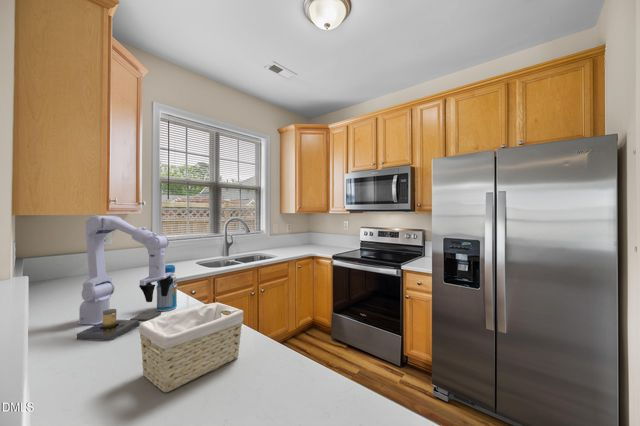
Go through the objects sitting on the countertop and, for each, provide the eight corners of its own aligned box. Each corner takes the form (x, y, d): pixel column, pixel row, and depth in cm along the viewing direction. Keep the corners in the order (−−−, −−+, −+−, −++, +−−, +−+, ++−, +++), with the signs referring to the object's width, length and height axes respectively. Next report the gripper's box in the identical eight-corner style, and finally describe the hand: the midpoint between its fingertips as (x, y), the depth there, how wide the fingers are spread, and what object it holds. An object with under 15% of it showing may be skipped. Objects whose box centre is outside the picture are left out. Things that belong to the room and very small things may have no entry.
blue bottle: (161, 313, 120) (161, 268, 120) (153, 309, 125) (153, 266, 125) (180, 308, 127) (180, 265, 127) (172, 304, 132) (172, 263, 132)
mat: (130, 320, 111) (130, 318, 111) (143, 313, 119) (143, 312, 119) (148, 321, 111) (148, 319, 111) (161, 314, 119) (161, 312, 119)
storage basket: (216, 342, 92) (216, 299, 92) (246, 357, 82) (246, 309, 82) (136, 376, 73) (136, 322, 73) (162, 401, 63) (163, 338, 63)
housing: (76, 339, 95) (76, 333, 95) (108, 324, 108) (108, 319, 108) (111, 340, 94) (111, 334, 94) (138, 325, 107) (138, 320, 107)
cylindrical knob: (99, 334, 99) (100, 312, 99) (109, 329, 103) (109, 308, 103) (110, 334, 99) (110, 312, 99) (119, 329, 103) (119, 308, 103)
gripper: (150, 269, 101) (150, 305, 100) (178, 262, 115) (178, 294, 115) (135, 268, 102) (134, 304, 102) (164, 262, 116) (164, 293, 116)
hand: (157, 298), depth 108 cm, fingers open, 7 cm apart
